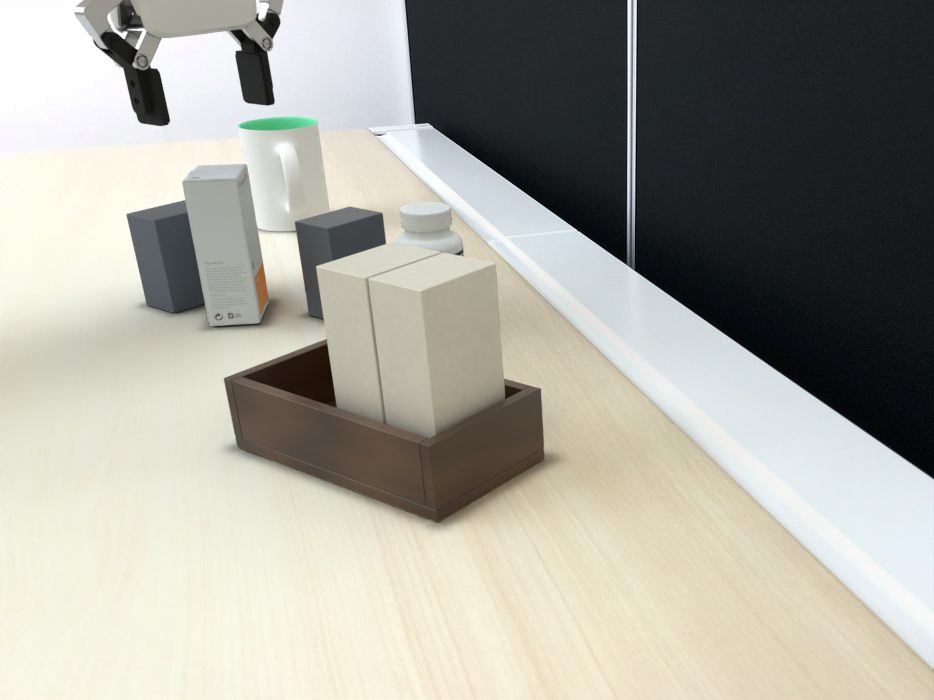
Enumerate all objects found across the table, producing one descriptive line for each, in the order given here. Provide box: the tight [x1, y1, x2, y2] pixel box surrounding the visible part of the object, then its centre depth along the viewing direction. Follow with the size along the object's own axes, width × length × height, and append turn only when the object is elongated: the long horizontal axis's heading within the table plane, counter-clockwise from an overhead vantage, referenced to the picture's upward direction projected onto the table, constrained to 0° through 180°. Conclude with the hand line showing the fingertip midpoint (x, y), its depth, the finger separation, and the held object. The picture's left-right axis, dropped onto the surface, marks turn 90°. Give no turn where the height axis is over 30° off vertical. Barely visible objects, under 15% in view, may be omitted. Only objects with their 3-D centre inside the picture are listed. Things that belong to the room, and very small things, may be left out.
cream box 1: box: [316, 241, 441, 424], centre depth 66 cm, size 4×6×12 cm, turn 146°
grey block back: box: [125, 199, 205, 314], centre depth 95 cm, size 4×6×8 cm, turn 146°
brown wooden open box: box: [223, 338, 546, 523], centre depth 68 cm, size 18×10×5 cm, turn 56°
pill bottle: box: [394, 201, 465, 257], centre depth 88 cm, size 5×5×10 cm
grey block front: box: [295, 206, 387, 320], centre depth 92 cm, size 4×6×8 cm, turn 146°
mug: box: [237, 116, 331, 232], centre depth 117 cm, size 12×8×10 cm, turn 26°
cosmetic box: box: [181, 163, 270, 327], centre depth 91 cm, size 6×4×12 cm
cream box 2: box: [368, 253, 505, 438], centre depth 64 cm, size 4×6×12 cm, turn 146°
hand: (209, 113), depth 86 cm, fingers open, 9 cm apart
